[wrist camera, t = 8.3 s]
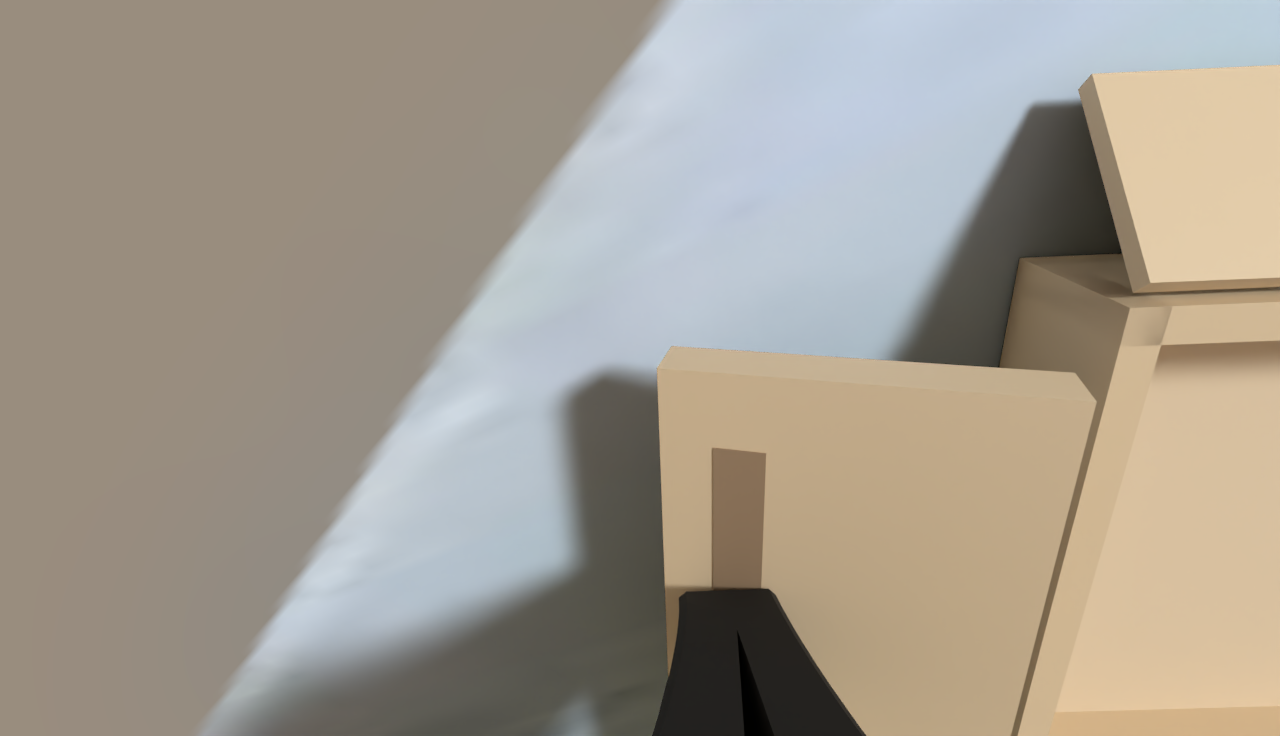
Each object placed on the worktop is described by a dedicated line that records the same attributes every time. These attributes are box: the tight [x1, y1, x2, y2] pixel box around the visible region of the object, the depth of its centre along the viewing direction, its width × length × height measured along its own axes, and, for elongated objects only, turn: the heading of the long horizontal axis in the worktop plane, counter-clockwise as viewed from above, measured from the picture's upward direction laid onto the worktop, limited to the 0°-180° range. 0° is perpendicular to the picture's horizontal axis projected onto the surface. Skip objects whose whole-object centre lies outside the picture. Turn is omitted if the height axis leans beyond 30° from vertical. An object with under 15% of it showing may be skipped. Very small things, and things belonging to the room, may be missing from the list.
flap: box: [657, 346, 1097, 736], centre depth 10 cm, size 5×9×1 cm, turn 2°
